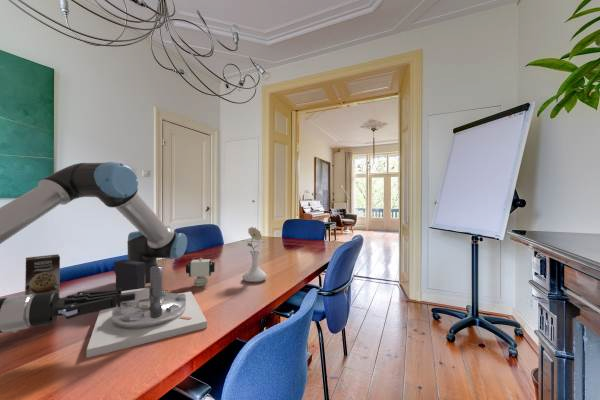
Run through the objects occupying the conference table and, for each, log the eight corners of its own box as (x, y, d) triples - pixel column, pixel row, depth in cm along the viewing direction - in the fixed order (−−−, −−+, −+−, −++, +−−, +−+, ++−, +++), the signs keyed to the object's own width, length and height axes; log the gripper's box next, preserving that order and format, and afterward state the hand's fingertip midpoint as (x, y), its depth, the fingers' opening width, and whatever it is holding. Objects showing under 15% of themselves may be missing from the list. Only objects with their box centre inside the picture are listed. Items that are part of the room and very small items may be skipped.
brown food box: (25, 305, 91) (25, 260, 91) (24, 300, 95) (24, 257, 95) (60, 298, 97) (60, 256, 97) (58, 293, 102) (58, 253, 102)
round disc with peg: (94, 324, 74) (94, 267, 73) (148, 297, 93) (149, 252, 93) (154, 332, 69) (154, 272, 69) (198, 303, 89) (198, 255, 89)
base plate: (101, 312, 86) (101, 306, 86) (191, 296, 101) (191, 290, 101) (86, 357, 62) (86, 348, 62) (206, 327, 77) (206, 320, 77)
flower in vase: (271, 281, 120) (271, 227, 119) (248, 285, 113) (248, 229, 113) (259, 274, 130) (259, 225, 130) (237, 278, 124) (237, 226, 124)
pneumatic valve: (213, 286, 112) (214, 259, 112) (185, 287, 110) (185, 260, 110) (215, 282, 118) (215, 256, 118) (188, 283, 115) (188, 257, 115)
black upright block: (146, 302, 95) (146, 261, 95) (136, 306, 91) (136, 264, 91) (125, 298, 98) (125, 259, 98) (113, 302, 94) (113, 261, 94)
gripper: (42, 315, 66) (148, 298, 78) (21, 339, 55) (149, 315, 67) (42, 286, 66) (149, 273, 78) (21, 304, 55) (149, 286, 67)
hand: (149, 292), depth 72 cm, fingers closed
